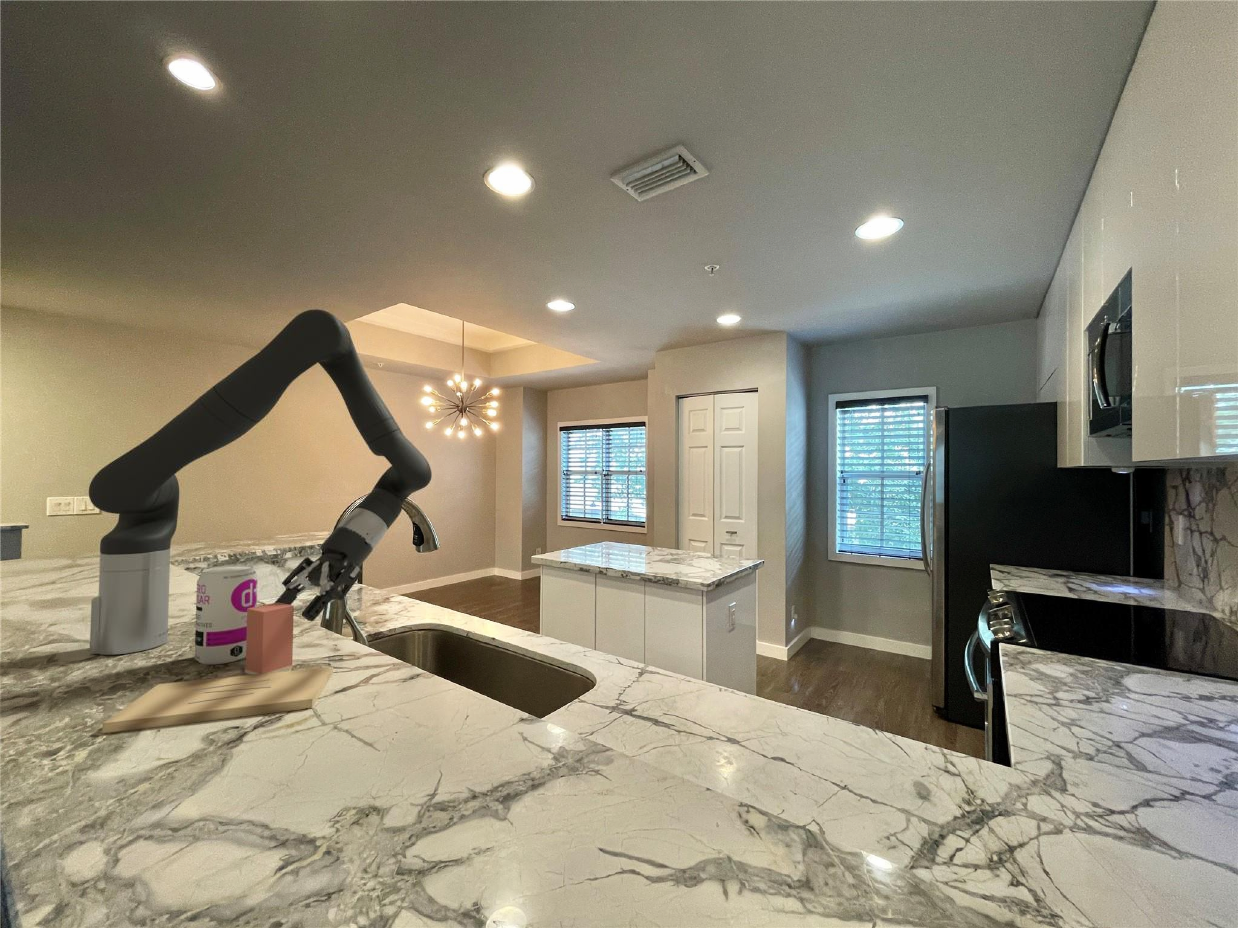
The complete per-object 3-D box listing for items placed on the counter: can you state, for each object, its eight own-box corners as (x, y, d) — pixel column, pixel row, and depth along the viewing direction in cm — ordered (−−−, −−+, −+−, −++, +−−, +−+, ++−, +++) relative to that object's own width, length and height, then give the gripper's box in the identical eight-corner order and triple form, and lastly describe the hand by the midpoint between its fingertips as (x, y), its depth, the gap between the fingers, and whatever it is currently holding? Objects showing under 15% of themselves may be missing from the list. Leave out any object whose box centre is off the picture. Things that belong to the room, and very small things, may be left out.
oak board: (102, 733, 60) (102, 722, 60) (158, 692, 71) (158, 683, 71) (312, 707, 67) (312, 698, 67) (332, 674, 78) (332, 666, 78)
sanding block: (261, 677, 77) (263, 612, 77) (245, 672, 79) (246, 608, 79) (292, 667, 81) (294, 605, 81) (276, 663, 83) (277, 602, 83)
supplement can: (267, 649, 89) (269, 565, 90) (226, 667, 81) (229, 573, 82) (225, 648, 90) (227, 564, 91) (181, 664, 82) (183, 572, 82)
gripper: (318, 523, 94) (248, 597, 84) (368, 527, 88) (300, 607, 77) (343, 548, 99) (281, 621, 88) (393, 553, 93) (333, 633, 82)
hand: (290, 615), depth 83 cm, fingers open, 8 cm apart
